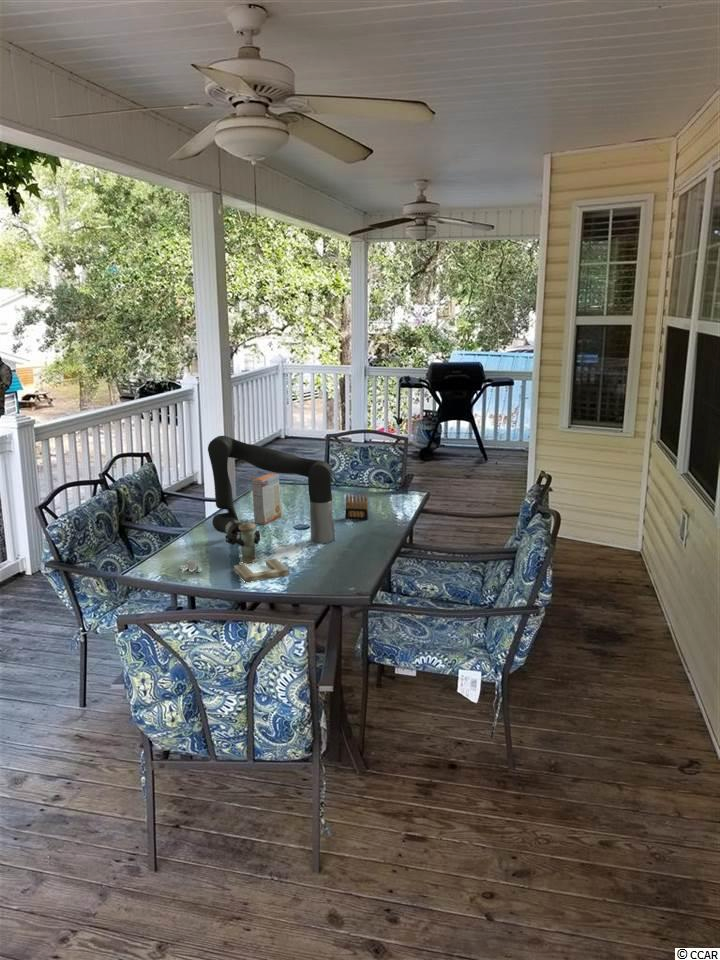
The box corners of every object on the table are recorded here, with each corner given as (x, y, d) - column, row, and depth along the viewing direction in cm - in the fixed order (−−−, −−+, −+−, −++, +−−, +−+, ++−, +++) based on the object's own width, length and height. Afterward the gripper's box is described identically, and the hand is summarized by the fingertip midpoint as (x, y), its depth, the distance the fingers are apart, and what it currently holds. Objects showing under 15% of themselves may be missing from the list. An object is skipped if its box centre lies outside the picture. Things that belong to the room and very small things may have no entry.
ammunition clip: (345, 518, 325) (344, 493, 323) (346, 517, 327) (345, 492, 324) (367, 520, 323) (367, 494, 320) (368, 518, 324) (368, 493, 322)
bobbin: (254, 557, 274) (252, 522, 271) (259, 561, 269) (257, 527, 266) (238, 559, 271) (236, 525, 268) (243, 564, 266) (241, 529, 263)
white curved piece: (176, 570, 262) (175, 560, 261) (196, 566, 267) (195, 555, 266) (186, 577, 255) (185, 566, 254) (206, 572, 260) (205, 561, 259)
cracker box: (271, 515, 332) (269, 472, 327) (281, 517, 329) (279, 473, 325) (253, 523, 320) (251, 478, 315) (264, 525, 317) (262, 480, 313)
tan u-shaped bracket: (276, 563, 267) (275, 558, 266) (289, 575, 254) (289, 569, 254) (234, 570, 260) (233, 565, 259) (245, 583, 247) (245, 577, 247)
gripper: (218, 524, 277) (231, 536, 262) (253, 519, 283) (267, 530, 268) (219, 543, 279) (232, 555, 264) (254, 537, 285) (268, 549, 270)
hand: (250, 542), depth 266 cm, fingers closed on bobbin, 5 cm apart
